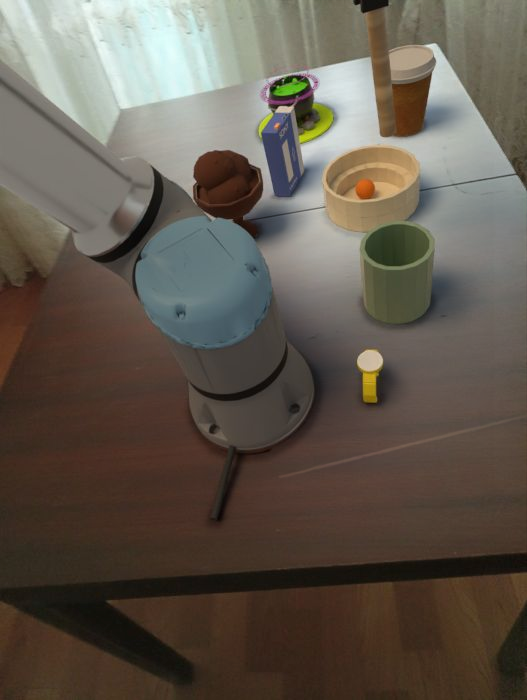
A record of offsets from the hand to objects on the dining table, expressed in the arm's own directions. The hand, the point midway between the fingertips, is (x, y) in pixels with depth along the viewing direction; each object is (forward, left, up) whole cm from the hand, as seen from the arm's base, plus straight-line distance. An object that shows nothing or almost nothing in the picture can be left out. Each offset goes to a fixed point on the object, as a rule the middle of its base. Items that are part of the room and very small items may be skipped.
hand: (370, 4), depth 52 cm
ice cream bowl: (+8, +20, -30) cm, 37 cm away
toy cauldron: (+37, +5, -30) cm, 48 cm away
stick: (0, -2, -15) cm, 15 cm away
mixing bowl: (+6, -1, -30) cm, 31 cm away
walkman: (+18, +10, -30) cm, 37 cm away
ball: (+8, 0, -28) cm, 29 cm away
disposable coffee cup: (+25, -13, -30) cm, 41 cm away
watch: (-27, +9, -30) cm, 41 cm away
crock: (-15, +2, -30) cm, 33 cm away
